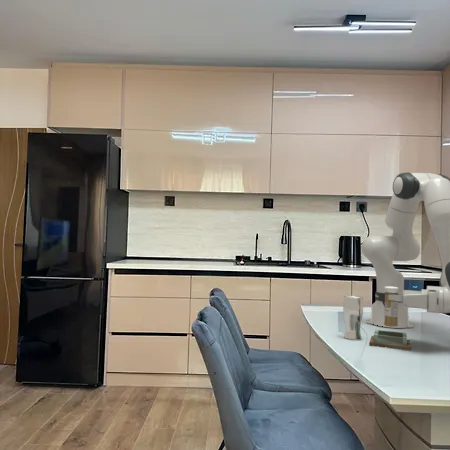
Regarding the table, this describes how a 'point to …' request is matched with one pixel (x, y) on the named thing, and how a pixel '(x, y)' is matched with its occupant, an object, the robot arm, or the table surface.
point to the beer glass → (352, 317)
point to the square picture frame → (390, 340)
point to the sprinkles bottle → (391, 307)
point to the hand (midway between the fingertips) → (388, 296)
